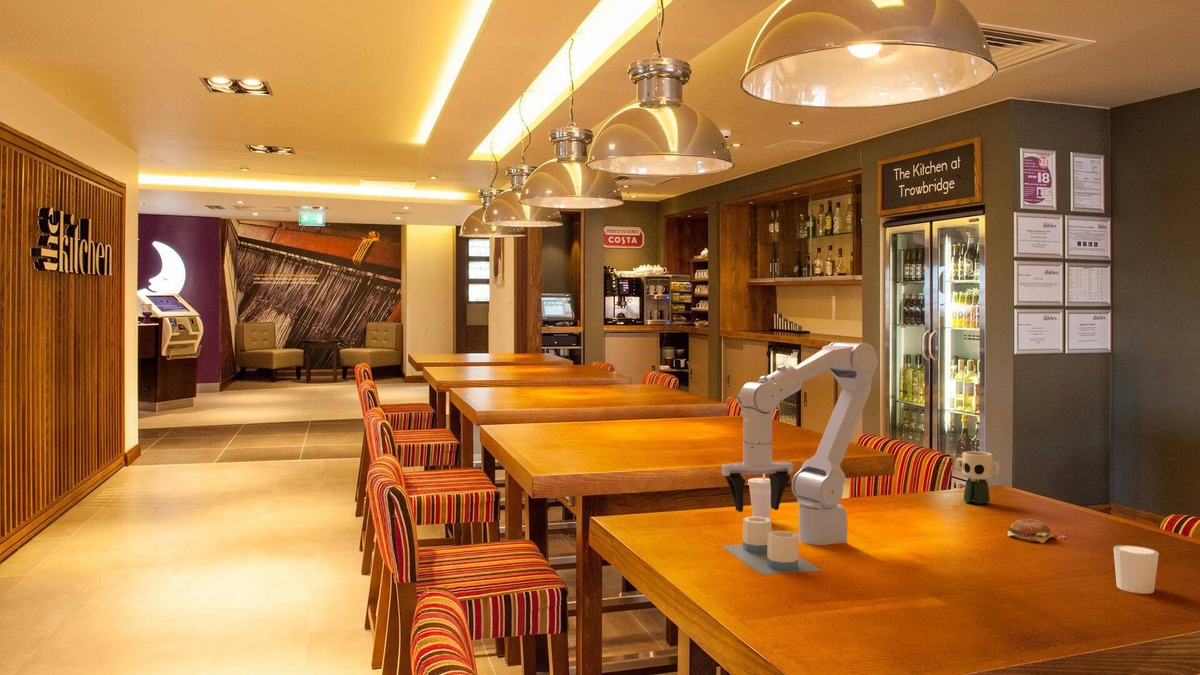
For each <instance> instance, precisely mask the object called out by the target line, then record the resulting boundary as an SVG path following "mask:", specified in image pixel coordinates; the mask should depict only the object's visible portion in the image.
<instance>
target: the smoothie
mask: <svg viewBox="0 0 1200 675" xmlns="http://www.w3.org/2000/svg"><path fill="white" fill-rule="evenodd" d="M747 485H748V486H749V494H750V496H749V497H750V504H751V513H752V517H755V516H758V517H765V518H769V519H770V517H771V509H772V508H771V485H770V478H767V477H766V474H762V477H752V478H749V479H747ZM770 520H771V519H770Z"/></svg>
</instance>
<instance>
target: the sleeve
mask: <svg viewBox="0 0 1200 675" xmlns="http://www.w3.org/2000/svg"><path fill="white" fill-rule="evenodd" d="M772 525H773V524H772V519H769V518H765V517H758V516H755V517H753V516H746V517H744V518H743V519H742V545H743V549H744V550H746V551H747V552H753V553H767V534H768V533H770V532H771V531H773V530H772Z"/></svg>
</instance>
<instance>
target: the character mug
mask: <svg viewBox="0 0 1200 675" xmlns="http://www.w3.org/2000/svg"><path fill="white" fill-rule="evenodd" d="M961 463H962V465H961ZM993 466H994V470H993ZM955 470H957V471H961V472H962V476H963V477H965V478H967V480H966V482H965V486H964V491H963V492H964V494H963V501H965V502H968V503H974V504H982V505H983V504H988V503H989V502H990V501H991V498H990V497H991V496H990V488H989V483H988V481H987V480H990V479H991V478H992V476H998V475H1000V464H999V462H997V461H993V454H992V453H991V452H987V451H979V450H978V451H973V450H972V451H971V450H968V451H963V452H962V457H957V458H955Z"/></svg>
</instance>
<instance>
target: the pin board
mask: <svg viewBox="0 0 1200 675" xmlns="http://www.w3.org/2000/svg"><path fill="white" fill-rule="evenodd" d="M721 547H722V548H723V549H725V550H727V551H728V552H729V553H731V555H734V556H735V557H736V558H737V559H738V560H741V562H743V563H744V564H746V565H747V566H748V567H750V569H753V570H754V571H755V572H757V573H758V574H759V575H761V576H763V575H779V574H791V573H792V574H794V573H809V572H822V571H823V570H822V569H821V568H820V567H819V568H818V567H817V566H816V565H814V564H812V563H811V562H809V561H807V560H806V559H804V558H803V557H801V556H799V555H798V567H797V568H796V569H795V570H785V571H782V570H776V569H772V568H770V567H769V566H767V553H753V552H747V551H746V550H744V549H743V544H729V545H728V544H727V545H721Z"/></svg>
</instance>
